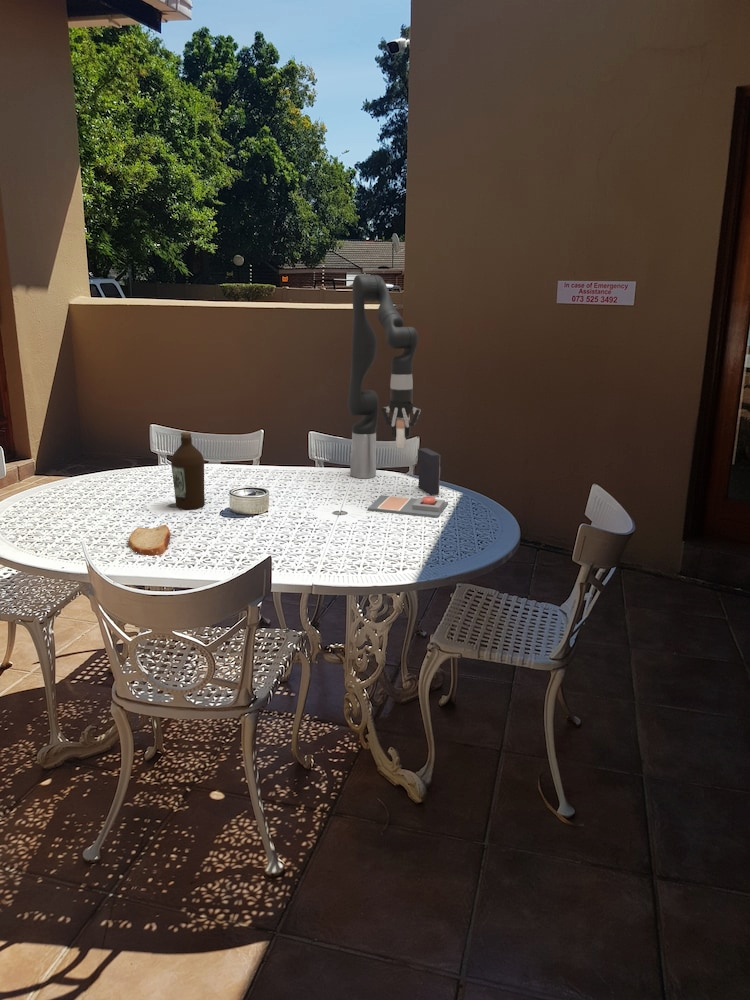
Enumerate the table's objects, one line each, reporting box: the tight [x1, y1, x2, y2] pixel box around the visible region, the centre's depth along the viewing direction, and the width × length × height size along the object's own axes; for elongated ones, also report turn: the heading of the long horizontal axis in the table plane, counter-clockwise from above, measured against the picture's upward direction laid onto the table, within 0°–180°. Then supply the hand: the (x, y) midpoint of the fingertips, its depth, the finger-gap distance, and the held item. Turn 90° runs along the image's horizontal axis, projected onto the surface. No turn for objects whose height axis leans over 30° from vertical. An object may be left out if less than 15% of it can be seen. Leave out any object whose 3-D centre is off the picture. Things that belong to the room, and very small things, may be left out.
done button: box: [421, 496, 436, 505], centre depth 250 cm, size 4×4×2 cm
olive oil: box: [170, 431, 206, 511], centre depth 248 cm, size 11×11×25 cm
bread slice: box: [128, 524, 171, 557], centre depth 217 cm, size 18×18×4 cm
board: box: [367, 494, 449, 519], centre depth 253 cm, size 24×16×2 cm, turn 73°
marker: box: [395, 417, 407, 450], centre depth 258 cm, size 4×4×10 cm
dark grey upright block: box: [417, 447, 441, 496], centre depth 270 cm, size 11×4×15 cm, turn 22°
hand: (400, 437), depth 258 cm, fingers closed on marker, 3 cm apart
